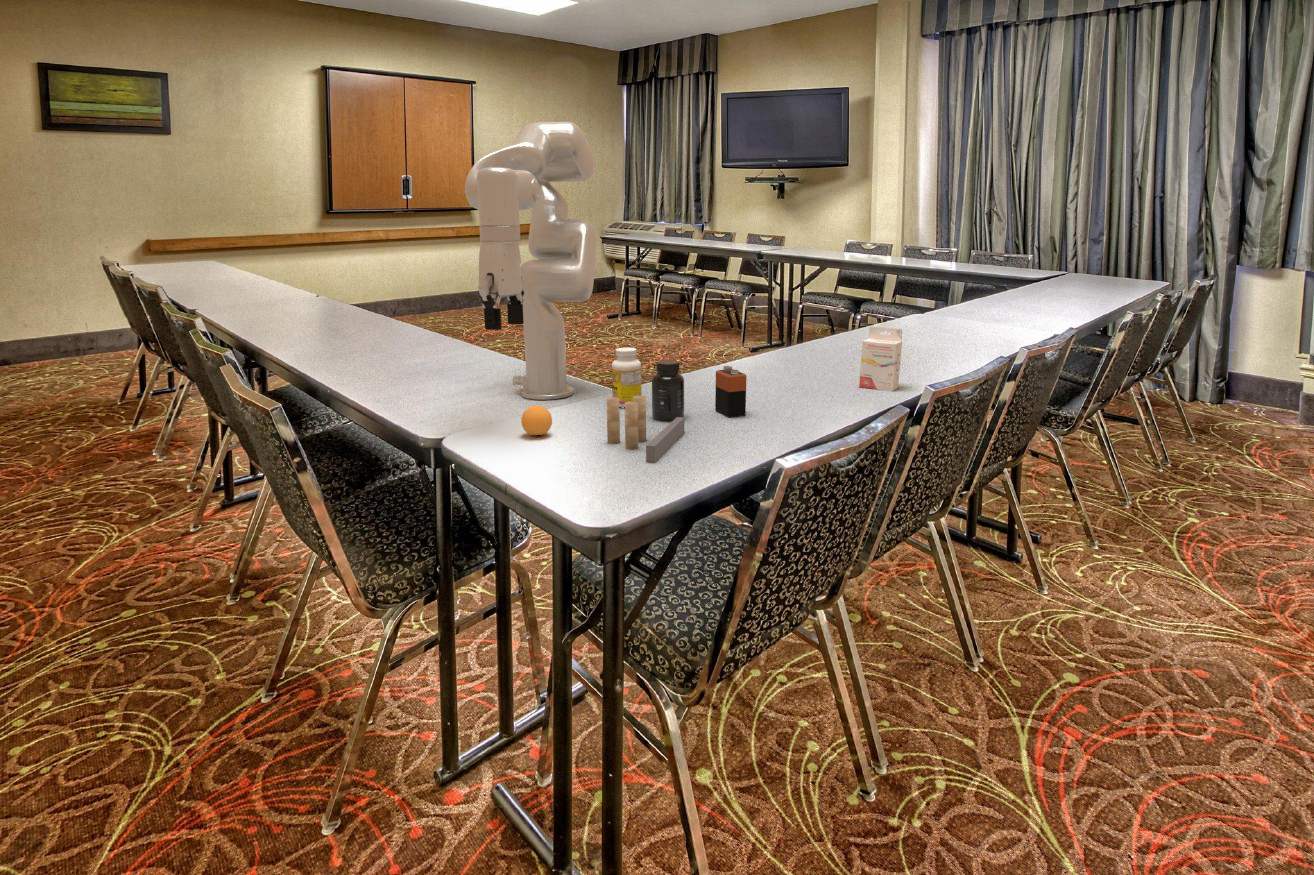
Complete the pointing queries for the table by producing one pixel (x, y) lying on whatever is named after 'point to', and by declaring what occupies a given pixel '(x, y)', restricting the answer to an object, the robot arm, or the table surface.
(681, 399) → the supplement bottle
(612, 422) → the wooden block
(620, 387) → the supplement bottle
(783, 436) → the table surface
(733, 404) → the battery
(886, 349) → the ink cartridge box
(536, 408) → the ball
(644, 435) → the pin
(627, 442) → the pin
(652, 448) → the back wall
